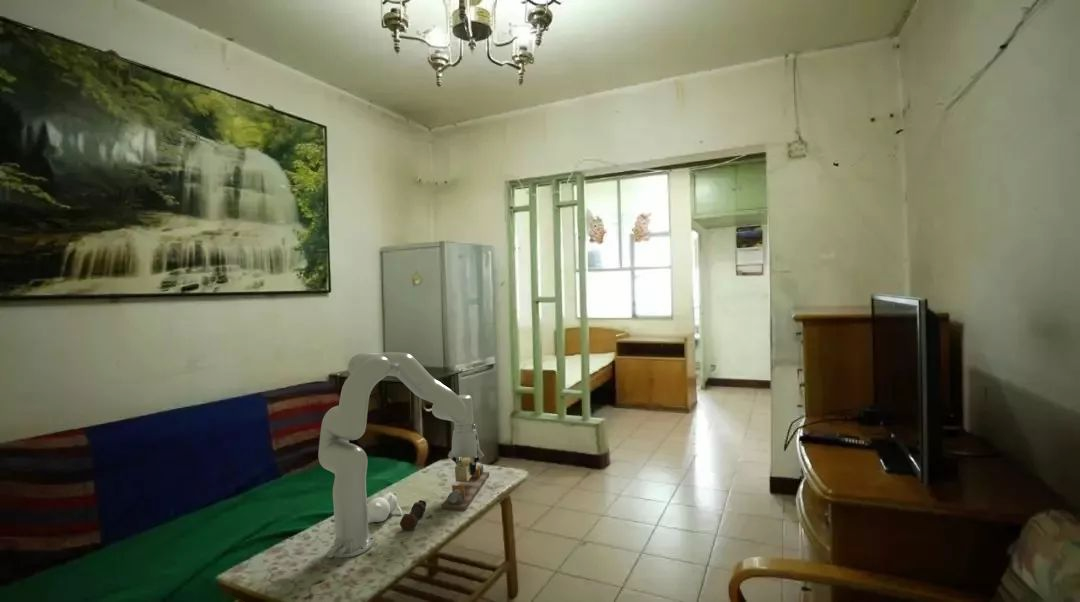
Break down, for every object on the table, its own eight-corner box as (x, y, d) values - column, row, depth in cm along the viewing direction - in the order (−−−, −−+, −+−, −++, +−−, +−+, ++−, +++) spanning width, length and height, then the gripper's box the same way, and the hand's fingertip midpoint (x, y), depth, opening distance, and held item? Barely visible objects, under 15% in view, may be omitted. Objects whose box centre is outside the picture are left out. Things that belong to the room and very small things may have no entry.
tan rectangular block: (477, 468, 181) (476, 454, 181) (467, 481, 168) (466, 467, 168) (466, 468, 181) (466, 454, 181) (455, 481, 169) (454, 467, 169)
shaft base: (465, 510, 159) (465, 492, 159) (441, 509, 161) (440, 492, 160) (489, 475, 189) (488, 461, 189) (468, 475, 190) (467, 460, 190)
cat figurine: (390, 483, 163) (368, 497, 151) (412, 501, 160) (391, 516, 148) (380, 502, 164) (357, 517, 153) (401, 521, 161) (380, 537, 150)
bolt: (424, 514, 162) (410, 535, 147) (412, 507, 162) (397, 527, 147) (432, 499, 162) (418, 519, 147) (419, 493, 162) (405, 512, 147)
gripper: (487, 424, 177) (490, 470, 177) (447, 424, 179) (449, 469, 180) (482, 430, 169) (485, 478, 170) (439, 430, 172) (442, 477, 172)
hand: (466, 473), depth 175 cm, fingers closed on tan rectangular block, 4 cm apart
